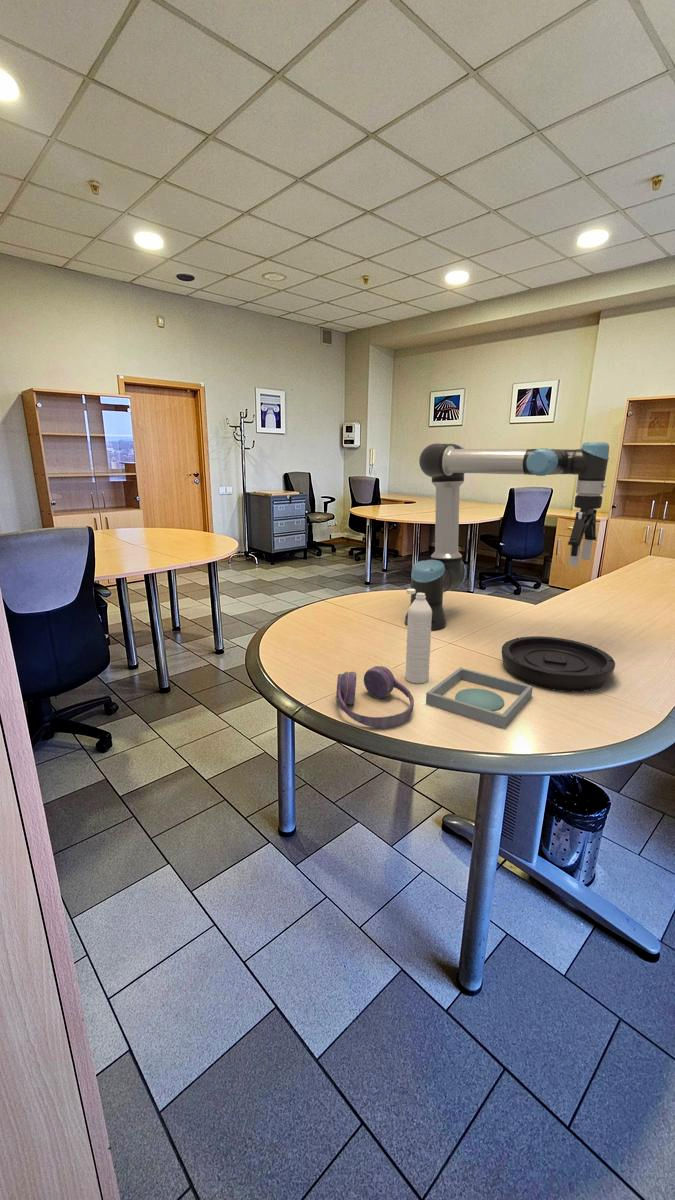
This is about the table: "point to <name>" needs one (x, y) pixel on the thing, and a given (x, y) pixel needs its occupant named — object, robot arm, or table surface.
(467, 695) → the teal round pad
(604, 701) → the table surface
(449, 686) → the teal-dotted square tray
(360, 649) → the table surface
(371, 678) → the headphones
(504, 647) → the round tray
